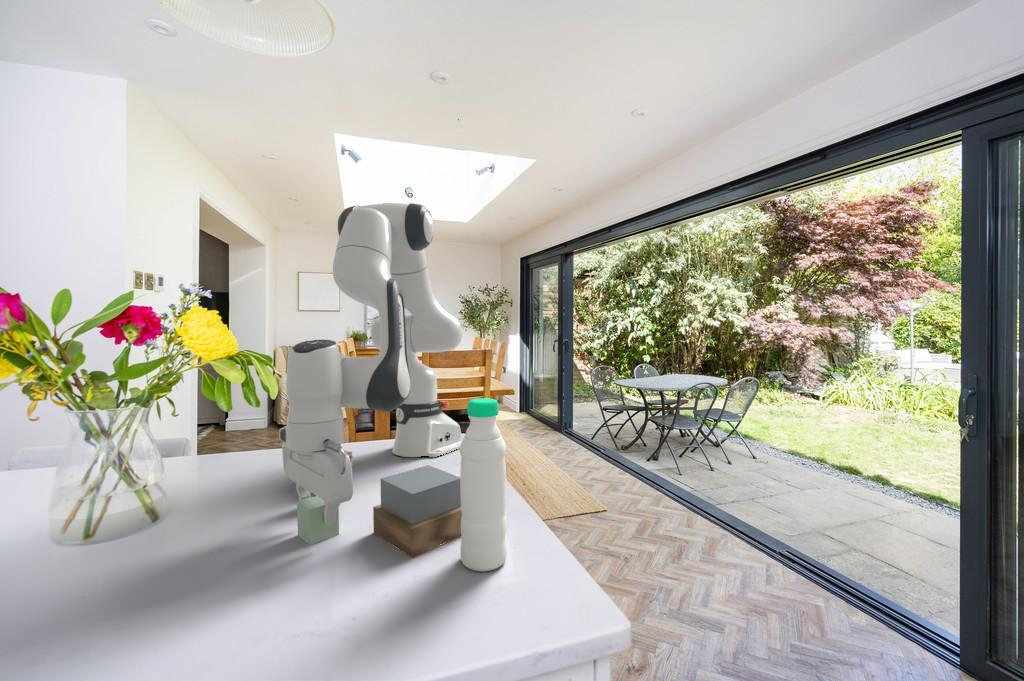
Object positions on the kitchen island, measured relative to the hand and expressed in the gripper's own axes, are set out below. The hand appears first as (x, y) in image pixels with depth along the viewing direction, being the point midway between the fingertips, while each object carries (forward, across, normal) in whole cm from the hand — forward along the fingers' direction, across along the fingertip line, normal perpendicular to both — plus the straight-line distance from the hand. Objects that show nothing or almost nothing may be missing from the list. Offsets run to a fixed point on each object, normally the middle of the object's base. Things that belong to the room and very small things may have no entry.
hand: (317, 514), depth 77 cm
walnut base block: (+4, -12, -13) cm, 18 cm away
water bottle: (+4, -27, -14) cm, 31 cm away
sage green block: (+4, 0, 0) cm, 4 cm away
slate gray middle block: (-1, -12, -13) cm, 18 cm away
